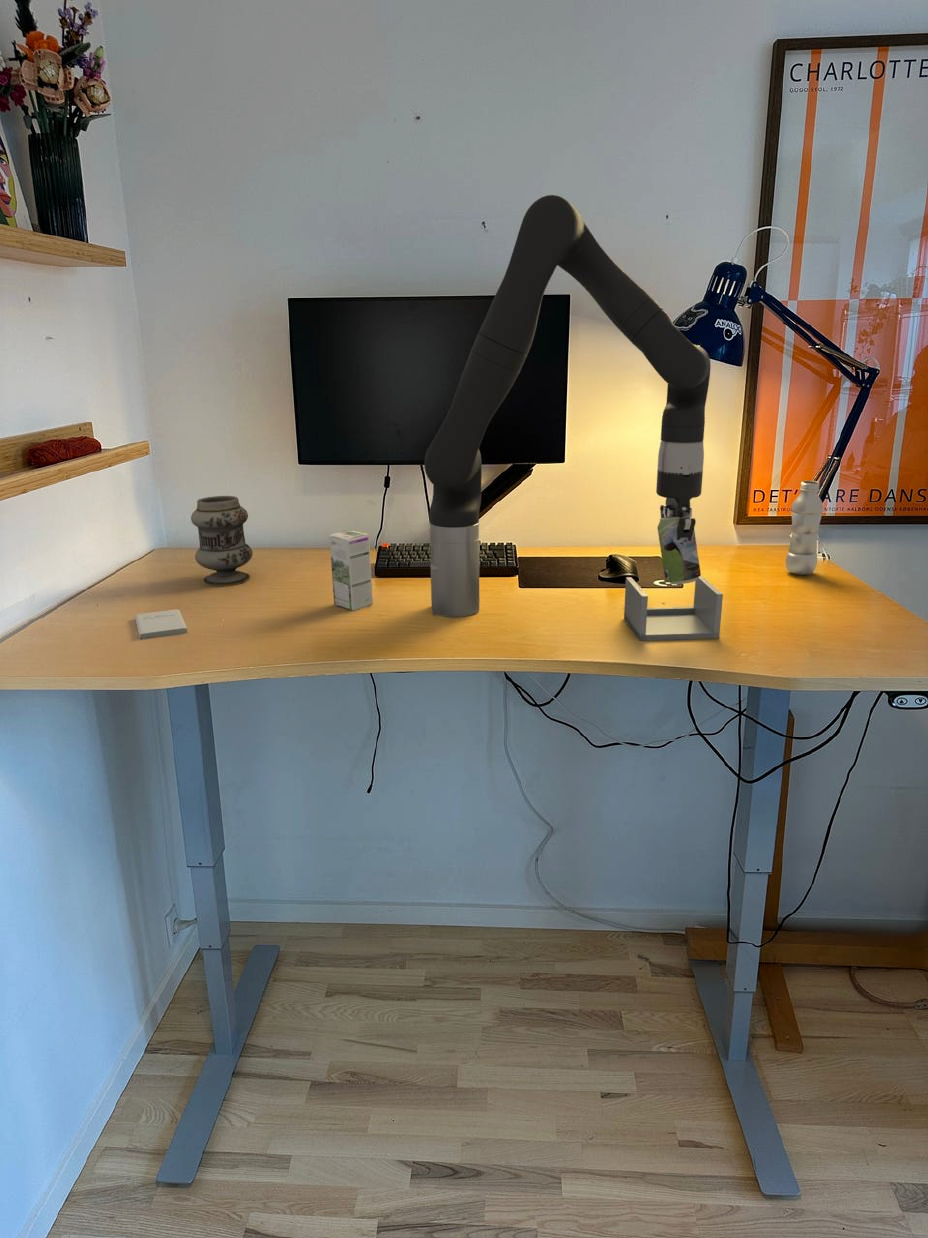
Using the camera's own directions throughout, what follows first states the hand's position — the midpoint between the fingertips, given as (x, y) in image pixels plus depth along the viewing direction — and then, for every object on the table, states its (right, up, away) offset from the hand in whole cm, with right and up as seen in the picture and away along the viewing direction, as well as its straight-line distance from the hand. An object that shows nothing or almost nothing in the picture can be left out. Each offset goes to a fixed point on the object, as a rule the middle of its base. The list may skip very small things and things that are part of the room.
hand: (673, 566), depth 154 cm
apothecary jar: (-89, -1, +37) cm, 96 cm away
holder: (0, -11, +4) cm, 12 cm away
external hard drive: (-93, -11, +9) cm, 94 cm away
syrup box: (-59, -7, +19) cm, 62 cm away
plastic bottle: (+36, 0, +37) cm, 52 cm away
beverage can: (0, -3, -2) cm, 4 cm away
